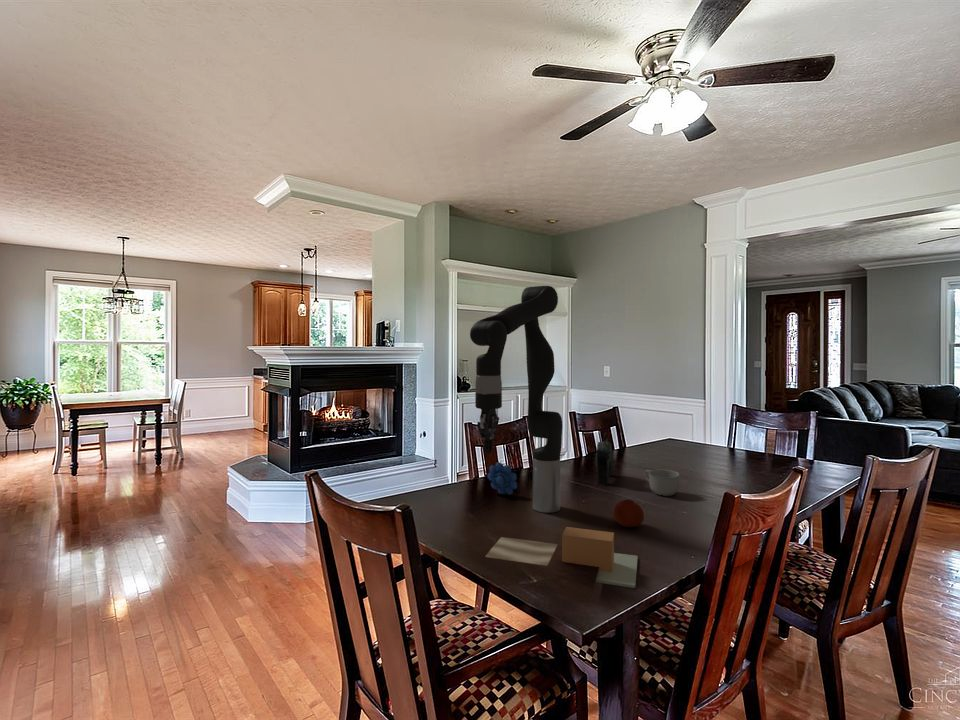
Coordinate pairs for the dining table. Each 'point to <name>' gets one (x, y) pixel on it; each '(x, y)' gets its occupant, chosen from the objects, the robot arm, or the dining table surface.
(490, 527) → the dining table surface
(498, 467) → the grapes
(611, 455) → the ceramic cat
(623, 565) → the mat
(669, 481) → the teacup
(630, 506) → the fruit
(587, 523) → the dining table surface
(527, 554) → the board
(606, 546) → the block
